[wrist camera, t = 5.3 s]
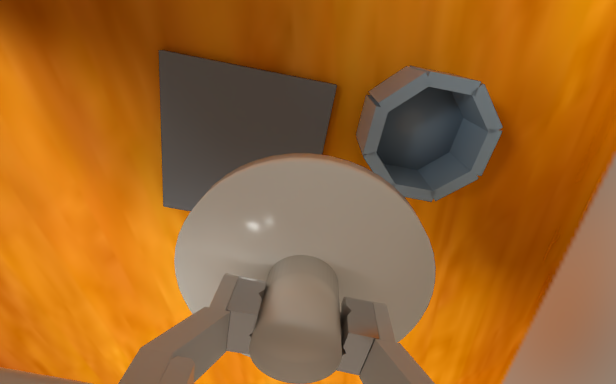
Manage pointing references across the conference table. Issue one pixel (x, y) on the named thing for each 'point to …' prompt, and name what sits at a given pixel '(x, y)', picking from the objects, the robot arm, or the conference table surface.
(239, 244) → the lid
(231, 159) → the mat
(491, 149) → the bowl
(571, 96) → the conference table surface
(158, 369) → the robot arm
